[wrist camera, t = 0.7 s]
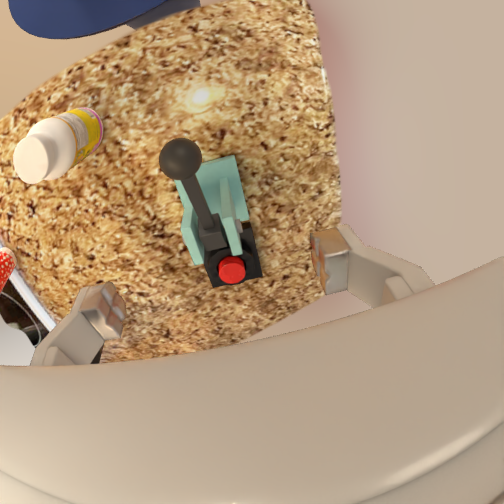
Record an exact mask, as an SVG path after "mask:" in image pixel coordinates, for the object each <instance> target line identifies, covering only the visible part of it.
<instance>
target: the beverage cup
mask: <svg viewBox="0 0 504 504" xmlns="http://www.w3.org/2000/svg"><path fill="white" fill-rule="evenodd" d="M16 265H17V259H16V257H15V255H14V253H13V252H12V251H11V250H10V249H9V248H6V247H3V248H1V250H0V293H1V291H2V289H3V287H4V285H5V284H6V282H7V280H8V278H9V277H10V275H11V273H12V271H13V270H14V268H15V266H16Z"/></svg>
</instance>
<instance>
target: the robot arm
mask: <svg viewBox="0 0 504 504" xmlns="http://www.w3.org/2000/svg"><path fill="white" fill-rule="evenodd" d="M310 243H311V245H312V247H313V250H312V251H311V257H312V263H313V267H314V270H315V272H316V275H317V276H319V277H320V283H321V285H322V288H323V290H324V292H325V294H326V295H329V294H332V293H336V292H341V291H344V290H347V291H348V292H350V293H351V294H353V295H354V296H356V297H357V298H359V299H360V300H362V301H364V302H365V303H366V304H368V305H369V306H371V307H372V308H373V309H369V310H366V311H363V312H360V313H357V314H354V315H351V316H347V317H344V318H340V319H337V320H334V321H330V322H327V323H323V324H320V325H317V326H313V327H309V328H305V329H302V330H297V331H293V332H289V333H285V334H282V335H277V336H273V337H268V338H264V339H260V340H255V341H250V342H245V343H240V344H235V345H230V346H225V347H220V348H214V349H209V350H203V351H197V352H191V353H185V354H179V355H172V356H165V357H158V358H150V359H141V360H133V361H123V362H112V363H100V364H90V363H91V362H92V360H93V359H94V357H95V356H96V354H97V353H98V351H99V350H100V348H101V347H102V345H103V344H104V342H105V340H111V339H117V338H121V333H122V329H123V324H122V321H123V320H124V318H125V317H126V305H125V302H124V300H123V298H122V297H121V296H120V295H118V294H117V293H116V287H115V286H114V285H113V283H112V282H104V283H100V284H95V285H91V286H87V287H83V288H81V289H80V291H79V293H78V295H77V298H76V300H75V302H74V305H73V307H72V309H71V312H70V314H67V315H66V316H65V317H64V318H63V319H62V320H61V321H60V322H59V323H58V324H57V325H56V326H55V327H54V329H53V330H52V331H51V332H50V333H49V334H48V335H47V336H46V337H45V338H44V339H43V340H42V341H41V343H40V344H39V345H38V346H37V347H36V349H35V352H34V355H33V357H32V360H31V363H30V366H5V365H0V504H504V257H500V258H497V259H495V260H493V261H491V262H489V263H487V264H484V265H482V266H480V267H478V268H476V269H474V270H472V271H469V272H467V273H465V274H462V275H460V276H458V277H455V278H453V279H451V280H448V281H446V282H443V283H441V284H438V285H435V284H434V283H433V281H432V280H431V279H430V278H429V276H428V275H427V274H426V273H425V271H424V270H423V269H422V268H421V267H420V266H418V265H415V264H413V263H411V262H408V261H406V260H403V259H401V258H398V257H396V256H394V255H391V254H389V253H386V252H383V251H381V250H378V249H376V248H373V247H371V246H367V247H366V246H365V245H364V244H363V243H362V241H361V240H360V239H359V237H358V236H357V235H356V234H355V232H354V231H353V230H352V228H351V227H350V226H349V225H348V224H344V225H341V226H337V227H334V228H330V229H326V230H322V231H318V232H314V233H310Z"/></svg>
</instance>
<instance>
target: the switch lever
mask: <svg viewBox="0 0 504 504" xmlns="http://www.w3.org/2000/svg"><path fill="white" fill-rule="evenodd" d="M201 162H202V154H201V151H200V149H199V147H198V146H197V145H196V143H194V142H193V141H191V140H189V139H186V138H177V139H174V140H171V141H170V142H168V143H167V144H166V145H165V146H164V147H163V149H162V150H161V153H160V156H159V164H160V168H161V170H162V171H163V173H164V174H165V175H166V176H167V177H169V178H171V179H174V180H181V183H182V185H183V187H184V189H185V191H186V193H187V196H188V198H189V200H190V202H191V204H192V206H193V208H194V210H195V212H196V215H197V217H198V218H197V221H198V231H199V238H200V240H201V242H202V243H203V245H204V247H205V249H206V251H211V250H215V249H219V248H223V247H227V242H226V237H225V231H224V227H223V224H222V221H221V219H220V216H219V213H215V214H211V212H210V209H209V207H208V204H207V202H206V199H205V197H204V194H203V192H202V189H201V187H200V184H199V182H198V179H197V177H196V173H197V171H198V170H199V168H200V166H201Z"/></svg>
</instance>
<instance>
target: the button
mask: <svg viewBox="0 0 504 504" xmlns="http://www.w3.org/2000/svg"><path fill="white" fill-rule="evenodd" d="M219 276H220V278H221V280H222V281H224V282H226V283H230V284H233V283H237V282H240V281H241V280H242V279H243V278H244V276H245V267H244V262H243V261H242V259H240V258H239V257H237V256H227V257H225V258H223V259H222V260H221V261H220V263H219Z"/></svg>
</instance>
